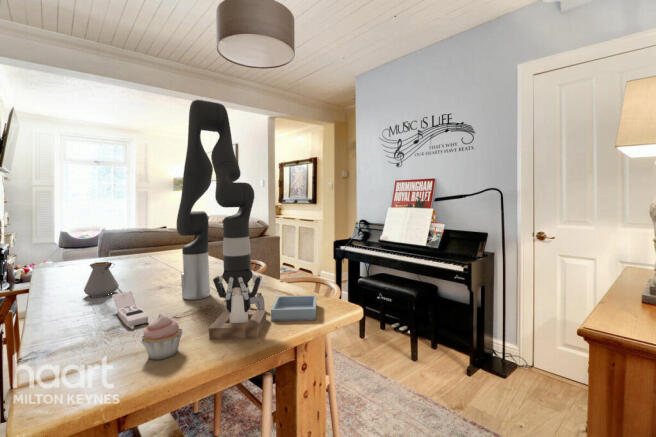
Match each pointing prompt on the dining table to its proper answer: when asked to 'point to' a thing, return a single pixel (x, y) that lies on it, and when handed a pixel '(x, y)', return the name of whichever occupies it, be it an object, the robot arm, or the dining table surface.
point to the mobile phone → (129, 309)
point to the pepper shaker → (238, 307)
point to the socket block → (238, 326)
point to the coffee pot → (101, 280)
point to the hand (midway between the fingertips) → (238, 310)
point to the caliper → (258, 301)
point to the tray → (294, 308)
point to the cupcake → (162, 337)
